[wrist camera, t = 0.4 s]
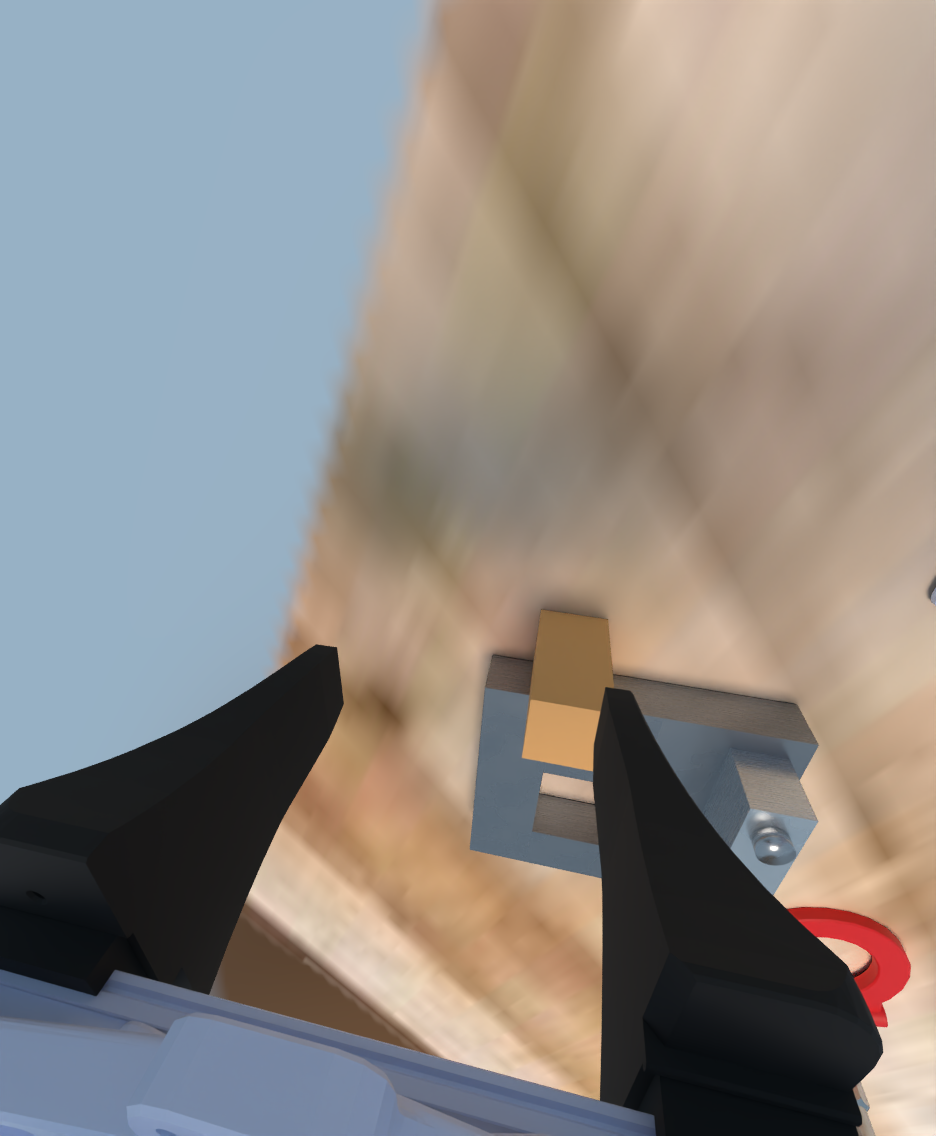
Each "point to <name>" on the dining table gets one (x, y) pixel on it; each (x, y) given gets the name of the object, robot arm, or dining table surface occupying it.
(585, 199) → the dining table surface
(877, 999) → the tow hook
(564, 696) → the tan rectangular block
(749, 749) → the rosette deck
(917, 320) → the dining table surface
